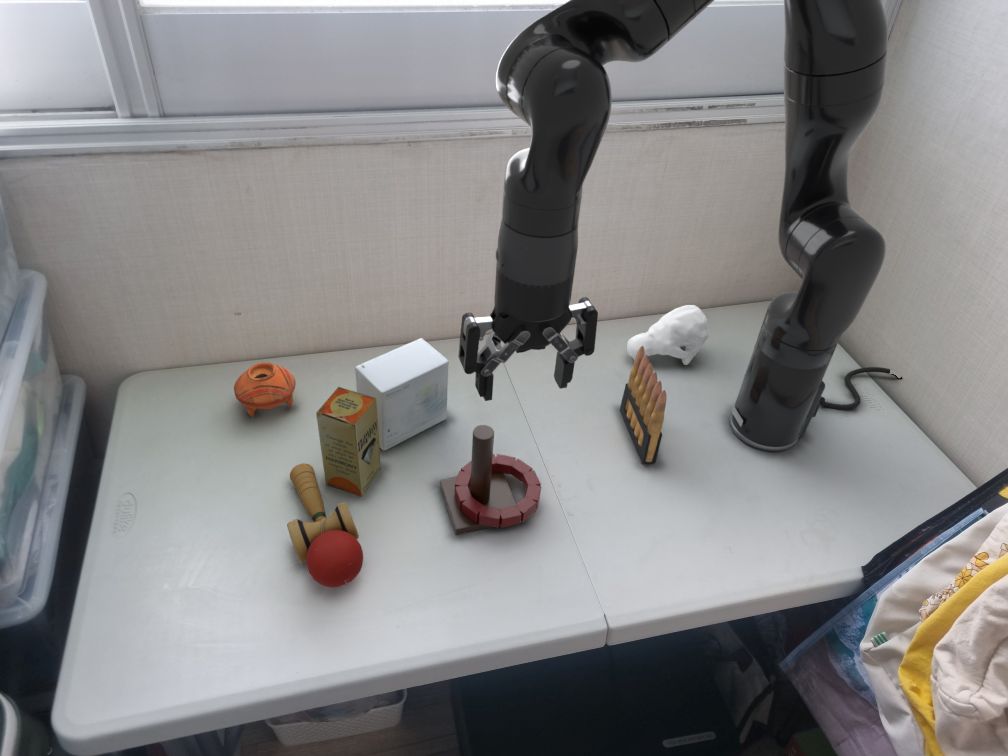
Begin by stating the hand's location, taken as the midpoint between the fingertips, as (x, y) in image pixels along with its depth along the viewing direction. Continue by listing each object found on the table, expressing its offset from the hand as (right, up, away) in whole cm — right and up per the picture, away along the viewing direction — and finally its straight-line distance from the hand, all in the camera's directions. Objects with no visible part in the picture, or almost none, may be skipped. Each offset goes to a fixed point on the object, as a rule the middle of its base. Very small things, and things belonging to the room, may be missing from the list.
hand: (523, 389), depth 83 cm
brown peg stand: (-5, -14, +10) cm, 18 cm away
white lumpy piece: (+22, +4, +35) cm, 41 cm away
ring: (-3, -13, +10) cm, 17 cm away
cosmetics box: (-16, -5, +20) cm, 26 cm away
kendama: (-23, -17, +5) cm, 29 cm away
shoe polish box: (-21, -11, +12) cm, 27 cm away
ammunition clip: (+16, -7, +21) cm, 27 cm away
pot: (-34, -3, +21) cm, 40 cm away
